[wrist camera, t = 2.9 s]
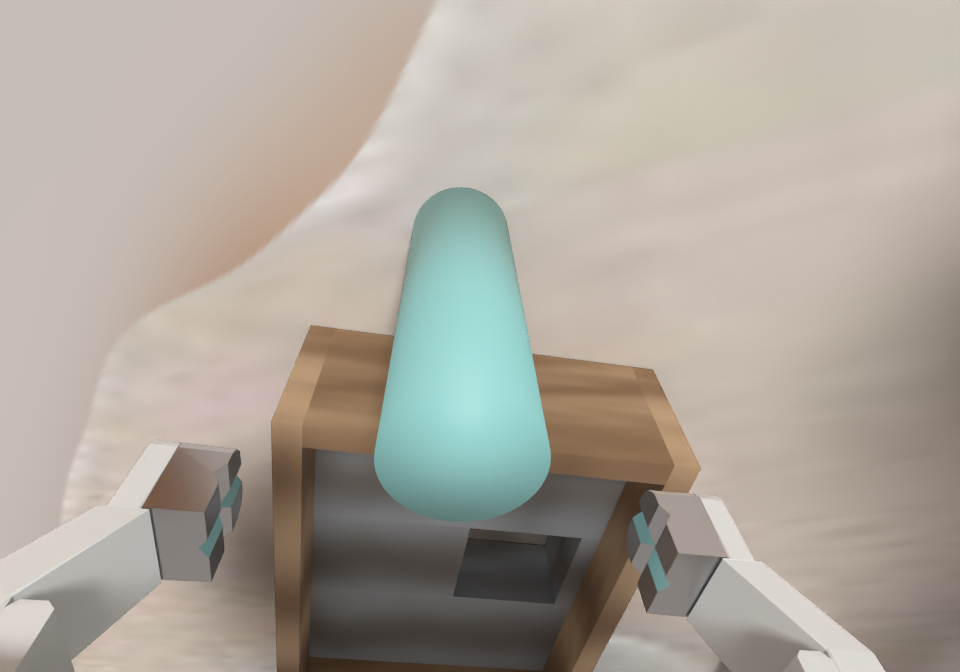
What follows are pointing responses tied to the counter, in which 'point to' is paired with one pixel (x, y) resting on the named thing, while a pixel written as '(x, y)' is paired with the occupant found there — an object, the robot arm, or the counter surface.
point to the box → (458, 525)
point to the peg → (461, 371)
